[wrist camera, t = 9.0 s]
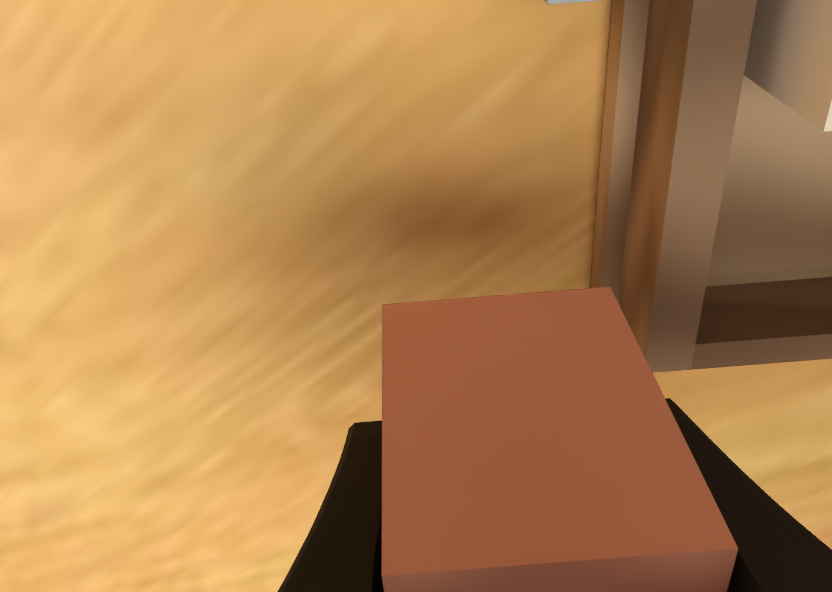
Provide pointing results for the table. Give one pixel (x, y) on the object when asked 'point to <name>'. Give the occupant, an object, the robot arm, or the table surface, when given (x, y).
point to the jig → (709, 195)
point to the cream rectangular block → (794, 56)
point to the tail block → (536, 454)
